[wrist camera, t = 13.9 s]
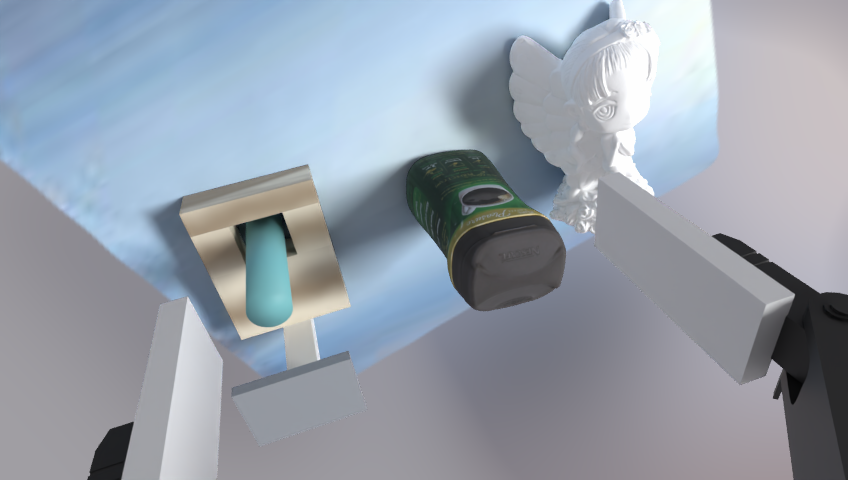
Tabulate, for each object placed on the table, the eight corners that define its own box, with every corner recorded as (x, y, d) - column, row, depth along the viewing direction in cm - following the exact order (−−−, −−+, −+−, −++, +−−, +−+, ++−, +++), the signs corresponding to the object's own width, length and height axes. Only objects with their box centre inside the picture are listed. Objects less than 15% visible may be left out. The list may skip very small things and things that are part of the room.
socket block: (183, 196, 48) (178, 214, 45) (308, 164, 50) (311, 179, 47) (241, 318, 57) (241, 340, 54) (345, 287, 59) (350, 306, 56)
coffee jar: (406, 221, 57) (463, 332, 42) (401, 155, 52) (463, 252, 37) (487, 205, 59) (570, 306, 44) (489, 141, 54) (582, 228, 39)
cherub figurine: (563, 254, 52) (563, 66, 38) (513, 188, 61) (500, 19, 48) (679, 214, 53) (718, 18, 40) (613, 155, 62) (627, -19, 49)
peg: (240, 213, 51) (238, 300, 39) (276, 203, 51) (284, 286, 40) (253, 242, 53) (255, 332, 41) (287, 232, 53) (298, 319, 42)
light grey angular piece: (235, 282, 54) (231, 397, 42) (326, 256, 56) (350, 359, 43) (256, 328, 58) (259, 446, 46) (341, 303, 60) (367, 410, 47)
